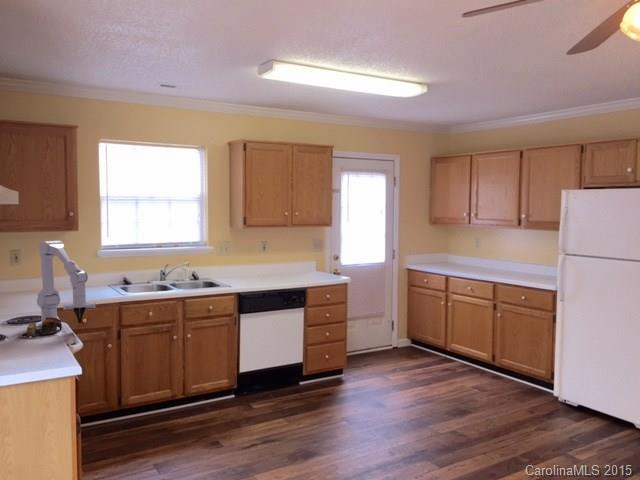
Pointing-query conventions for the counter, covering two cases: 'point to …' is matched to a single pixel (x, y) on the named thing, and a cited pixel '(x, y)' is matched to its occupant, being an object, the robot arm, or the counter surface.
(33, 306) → the counter surface
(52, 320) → the pottery mug
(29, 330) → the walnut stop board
